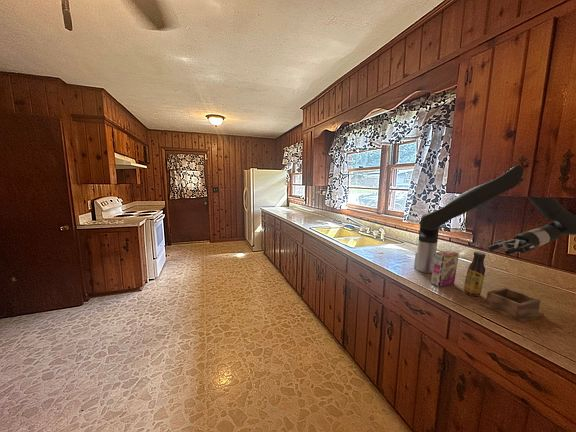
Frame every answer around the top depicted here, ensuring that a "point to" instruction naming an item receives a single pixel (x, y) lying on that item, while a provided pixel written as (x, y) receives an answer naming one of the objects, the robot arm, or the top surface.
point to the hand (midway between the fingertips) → (497, 250)
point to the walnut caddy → (513, 304)
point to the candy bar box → (444, 268)
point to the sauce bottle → (475, 275)
